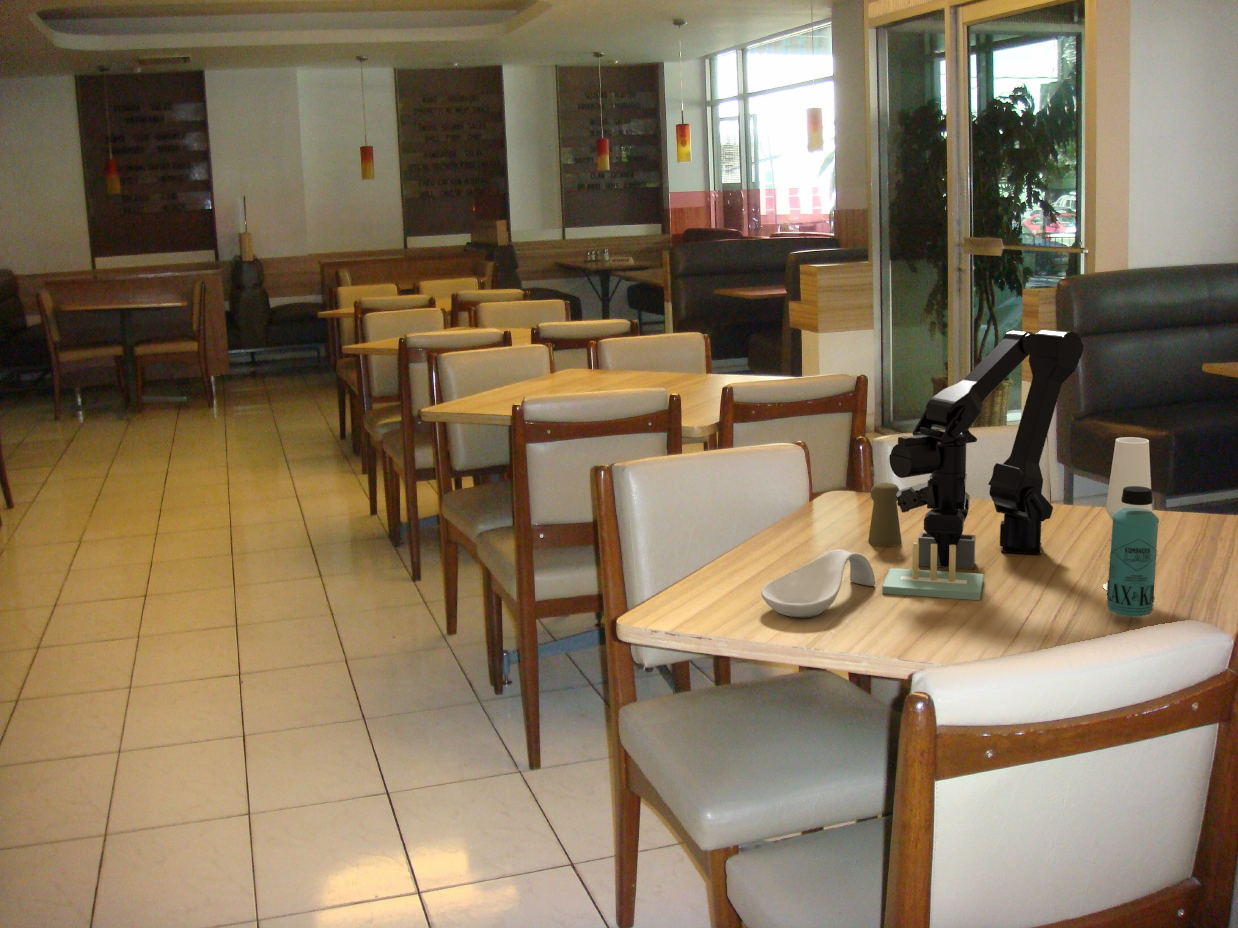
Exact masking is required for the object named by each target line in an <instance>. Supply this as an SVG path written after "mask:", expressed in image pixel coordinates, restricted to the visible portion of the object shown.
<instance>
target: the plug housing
mask: <svg viewBox="0 0 1238 928" xmlns="http://www.w3.org/2000/svg"><path fill="white" fill-rule="evenodd" d="M976 540H977V539H976V534H963V533H962V535H961V537H960V540H959V542H958V544H957V546H956V567H955V569H962V570H963V569H964V570H974V569H975V565H976ZM917 541H918V542H917V543H919V567H929V568H931V544H936V542H935V539H934V538H933V537H932V536H931V535H930V534H927V533H926V532H923V531H921V532H920V533H919V535H918V540H917ZM937 568H943V567H942V566H941V564H940V560H939V555H938V551H937ZM944 568H946V569H947V568H948V569H949V565H948V567H944Z"/></svg>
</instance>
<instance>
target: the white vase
mask: <svg viewBox="0 0 1238 928" xmlns="http://www.w3.org/2000/svg"><path fill="white" fill-rule="evenodd" d="M1150 461H1151V459H1150V440H1149V439H1147V438H1143V437H1133V436H1129V437H1127V436H1126V437H1123V436H1122V437H1118V438H1115V443H1114V450H1113V458H1112V464H1111V471H1110V476H1109V477H1110V478H1109V483H1108V484H1109V485H1108V490H1107V495H1106V497H1107V498H1106V503H1105V511H1106V512H1107V515H1108V516H1109V517H1110V519H1111V520H1112V517H1113V515H1114V514H1115V513H1117V512H1118V511H1119V510H1121V509H1123V508H1143V509H1148V510H1150V511H1152V512H1153V503H1152V504H1149V505H1131V504H1126V503H1123V502H1122V501H1121V499H1122V494H1123V488H1125V487H1129V486H1141V487H1147V488H1150V489H1151V490H1152V480H1151V479H1152V478H1151V462H1150ZM1107 583H1108V582H1106V584H1105V583H1103V584H1102V585H1103V588H1104V589H1105V590H1104V589H1103V588H1102V589H1103V590H1104V591H1106V590H1107Z"/></svg>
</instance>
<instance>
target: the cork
mask: <svg viewBox="0 0 1238 928" xmlns="http://www.w3.org/2000/svg"><path fill="white" fill-rule="evenodd" d="M899 490H900V488H899V486H898V485H897V484H895V483H892V482H878V483H876V484H873V486H872V487H871V489H870V497H871V500H872V501H873V504H872V511H871V512H872V513H871V519H870V525H869V533H868V538H867V539H868V540H867V543H869V544H870V545H873V546H876V547H877V546H878V547H895V546H899V545H901V544H902V542H903V541H902V534H901V533H902V532H901V526H900V518H899V509H898V505H897V502H898V501H897V498H896V494H897V492H898V491H899Z"/></svg>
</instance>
